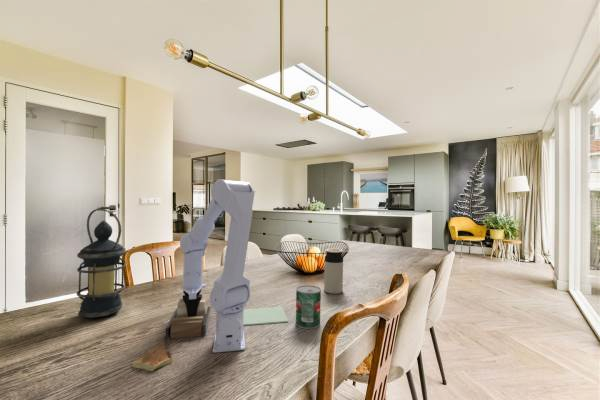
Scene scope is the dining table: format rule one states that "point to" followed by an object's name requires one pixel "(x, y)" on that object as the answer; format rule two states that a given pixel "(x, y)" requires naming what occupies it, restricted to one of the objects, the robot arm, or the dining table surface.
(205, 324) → the rack
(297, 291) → the canned tomato
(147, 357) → the shard
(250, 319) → the rubber mat
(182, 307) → the birch block
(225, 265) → the robot arm
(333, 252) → the travel mug
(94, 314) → the lantern
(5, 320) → the dining table surface
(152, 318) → the dining table surface
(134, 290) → the dining table surface
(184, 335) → the offcut stack
